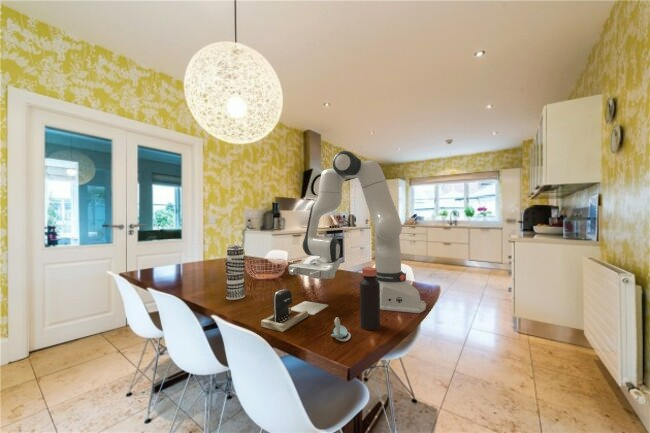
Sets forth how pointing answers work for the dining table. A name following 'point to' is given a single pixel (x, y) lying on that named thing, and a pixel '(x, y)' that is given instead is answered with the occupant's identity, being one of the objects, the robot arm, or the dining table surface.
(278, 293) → the black upright rounded piece
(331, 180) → the robot arm
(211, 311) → the dining table surface
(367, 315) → the bottle
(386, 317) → the dining table surface
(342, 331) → the pacifier
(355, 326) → the dining table surface
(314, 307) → the tile pad
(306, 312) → the beige rectangular frame
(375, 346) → the dining table surface
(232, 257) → the decorative candle
